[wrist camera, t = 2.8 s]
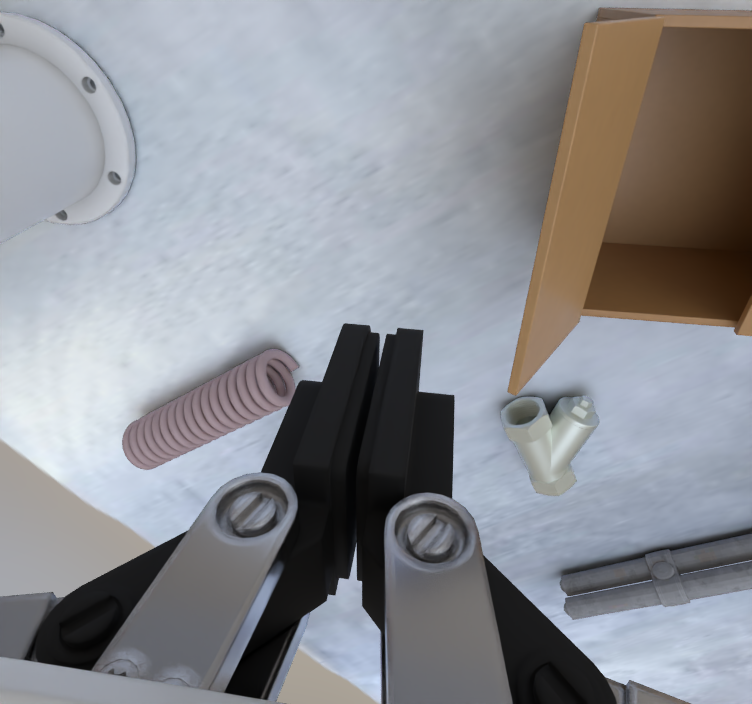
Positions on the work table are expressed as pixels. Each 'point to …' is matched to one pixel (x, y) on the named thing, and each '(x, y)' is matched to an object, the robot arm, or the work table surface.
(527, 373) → the flap
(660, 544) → the work table surface
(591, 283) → the box
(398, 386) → the robot arm
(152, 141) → the work table surface
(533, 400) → the pipe fitting
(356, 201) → the work table surface
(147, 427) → the coil
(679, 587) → the grey double pipe
